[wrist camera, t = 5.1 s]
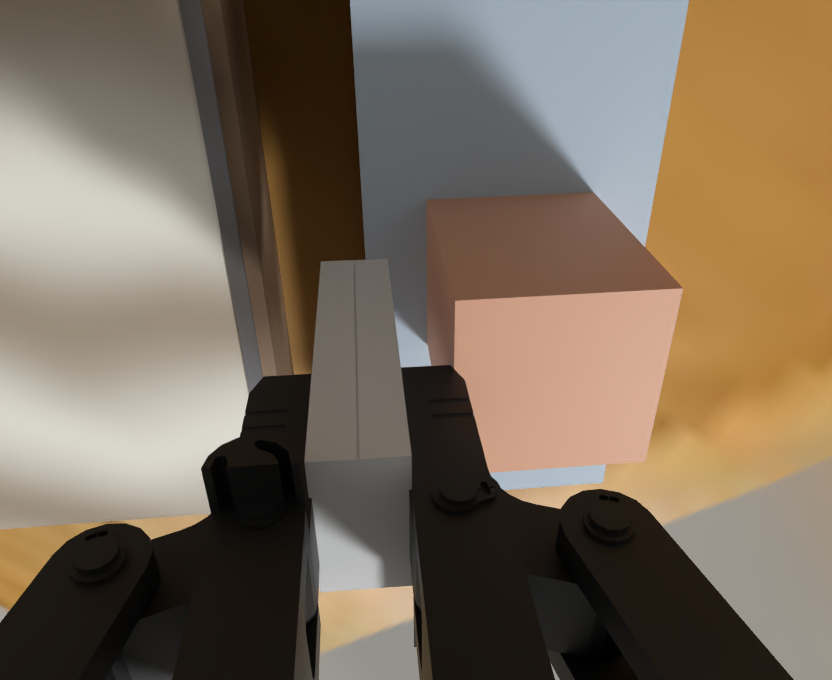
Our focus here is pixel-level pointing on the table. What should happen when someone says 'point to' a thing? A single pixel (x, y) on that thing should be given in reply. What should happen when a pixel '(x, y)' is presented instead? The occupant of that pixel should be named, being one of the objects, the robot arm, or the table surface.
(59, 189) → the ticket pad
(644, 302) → the blue base with cube
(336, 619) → the table surface
